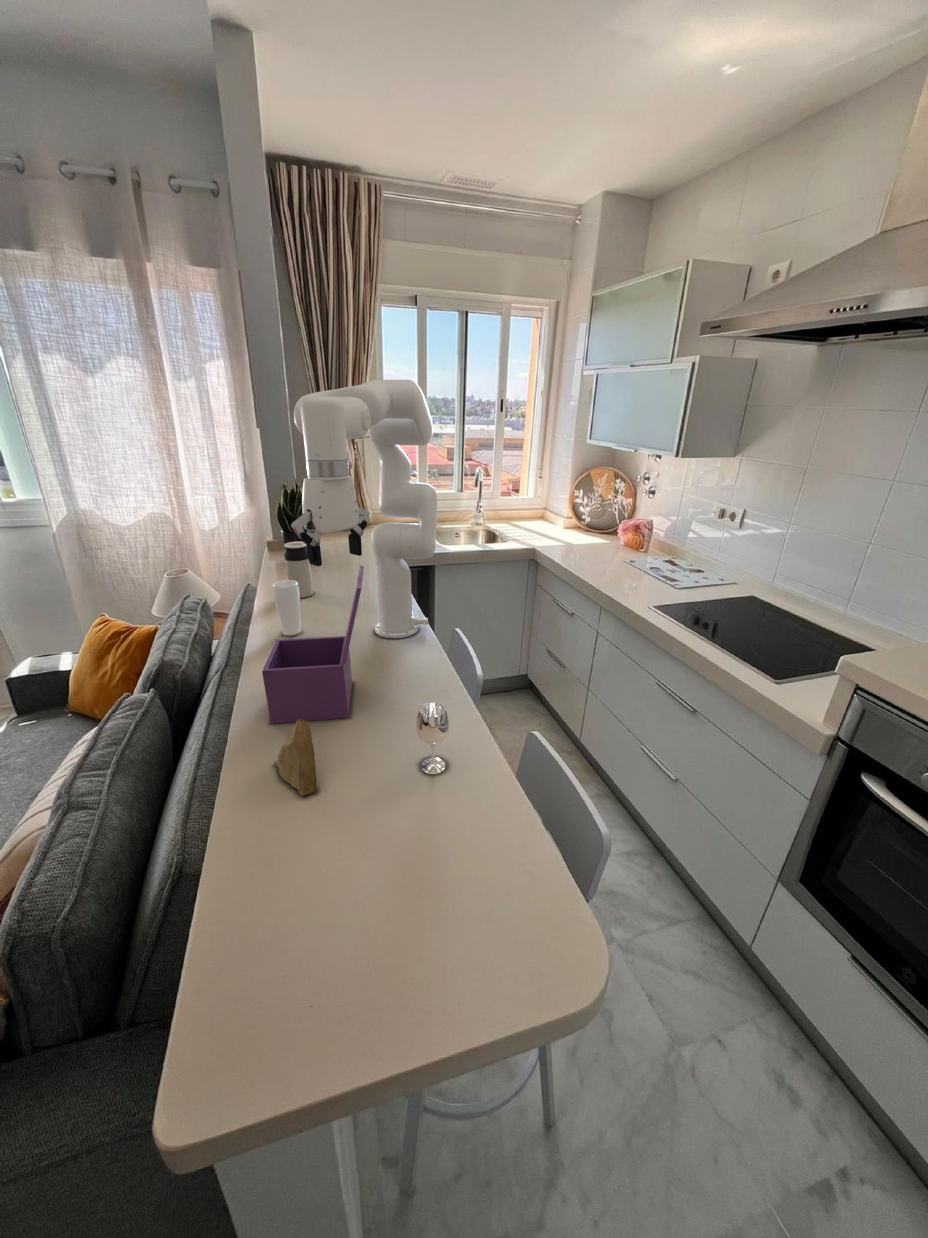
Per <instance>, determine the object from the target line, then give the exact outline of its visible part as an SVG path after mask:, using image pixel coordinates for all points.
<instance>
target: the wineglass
mask: <svg viewBox="0 0 928 1238" xmlns="http://www.w3.org/2000/svg"><path fill="white" fill-rule="evenodd" d="M415 730H416V734H417V736H418V737H419V740H421V741H422V742H424V743H426V744H429V746H430V750H431V757H429V758H426V759H424V760H423V761H422V762H421V764H420V769H421V770H422V771H423V772H424V773H425V774H428V775H437V774H440V773H442V772H443V771H445V769H446V765H447V764H446V762H445V761H444V760H443V759H441V758H439V757H435V750H436V746H437V744H439V743H441V742H443V741H444V740H445V739H446V738H447V737H448V735H449V731H450V720H449V715H448V711H447V708H446V706H445V705H443V704H442V703H439V702H427V703H424V704H422V705H421V706H420V707H419V708H418V712H417V716H416V722H415Z"/></svg>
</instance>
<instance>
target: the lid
mask: <svg viewBox="0 0 928 1238" xmlns="http://www.w3.org/2000/svg"><path fill="white" fill-rule="evenodd" d="M364 570H365V566H363V565H359V569H358V575H357V580H356V585H355V588H354V589H355V590H354V594H353V599H352V603H351V608H350V614H349V618H348V623H347V627H346V632H345V636H346V638H345V644H344V650H343V656H342V662H341V664H345V663H346V659H347V654H348V649H349V650H350V644H351V641H352V635H353V630H354V625H355V620H356V616H357V611H358V608H359V607H358V606H359V601H360V597H361V592H362V587H363V578H364Z"/></svg>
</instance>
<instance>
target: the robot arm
mask: <svg viewBox="0 0 928 1238" xmlns="http://www.w3.org/2000/svg"><path fill="white" fill-rule="evenodd" d="M293 420H294V424H295V427H296V428H297V430H298V431H299V433H300V434H301V435H302V436H303V444H304V445H303V446H304V455H305V464H306V473H307V474H306V475H307V477H305V478H303V483H302V490H301V491H302V492H301V493H302V495H301V506H302V508H301V509H302V515H300V516H299V517H298V518H297V519H295V520H294V521H293V522H292V523H291V525H290V527H291V529H292V530H293V532H294V533H295V534H296V537H297V538H298V539H299V540H300V541H301V542H303V543H304V544H306V545H307V554H308V560H309V563H310V565H312V566H316V567H321V566H322V565H323V561H322V551H321V546H320V545H319V544H318V543H319V541H320V539H321V537H322V535H328V534H332V533H337V532H342V531H348V532H349V533H348V536H347V537H348V539H347V540H348V551H349V554H351V555H354V556H358V557H361V556H362V555H363V551H362V549H363V546H362V536H363V535H364V532H365V531H364V530H365V529H366V528H367V525H368V520H369V517H370V511H369V510H367V509H365V508H363V507H360V506H359V505H358V497H357V492H356V488H355V483H354V480H353V476H351V475H350V470H351V469H352V468H353V463H352V461H349V454H348V451H349V450H348V440H356V439H361V438H363V437H365V436H366V435H368V438H369V440H370V442H371V444H372V447H373V449H374V451H375V453H376V456H377V459H378V463H379V475H378V476H379V478H378V509H379V512H380V513H381V515H382V516H384V517H387V518H395V519H414V520H418V523H411V522H410V523H408V522H390V521H389V522H388V521H387V522H382V523H379V524H377V525H375V526H374V527H373V529H372V531H371V534H370V540H371V547H372V551H373V556H374V560H375V569H376V582H377V585H376V586H377V599H378V602H377V603H378V618H379V619H378V620H379V621H378V622H377V623H376V624H375V625H374V633H375V634H376V635H377V636H379V637H381V638H386V639H403V638H408V637H410V636H412V635H414V634H416V633H417V632H418V631H419V626H420V625H429V618H428V617H424V615H417V616H416V615H414V611H413V595H412V593H413V592H412V573H411V568H410V567H409V565H408V564H407V562H406V561H405V560H404V559H407V560H408V559H409V560H429V559H431V558H432V557H433V556H434V554H435V551H436V544H437V543H436V542H437V525H438V523H437V522H438V495H437V491H436V489H435V487H434V486H433V485H432V484H430V483H426V482H412V463H411V460H410V459H409V457H408V455H407V454H406V453H405V451H404V450H403V449H402V448H401V447H400V446H416V447H417V446H420V447H421V446H425V445H428V444H429V443H430V442H431V441H432V439H433V433H434V424H433V419H432V415H431V413H430V409H429V407H428V404H427V401H426V398H425V395H424V393H423V391H422V389H421V387H420V386H419V385H418V383H416V382H415V381H414V380H412V379H373V380H370V381H366V382H364V383H360V384H357V385H352V386H345V387H340V388H337V389H336V388H334V389H328V390H322V391H315V392H311V393H307V394H305V395H302V396H301V397H300V398H299V399H298V400H297V401H296V403H295V406H294V409H293ZM305 530H306V531H307V532H305ZM418 625H419V626H418Z"/></svg>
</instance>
